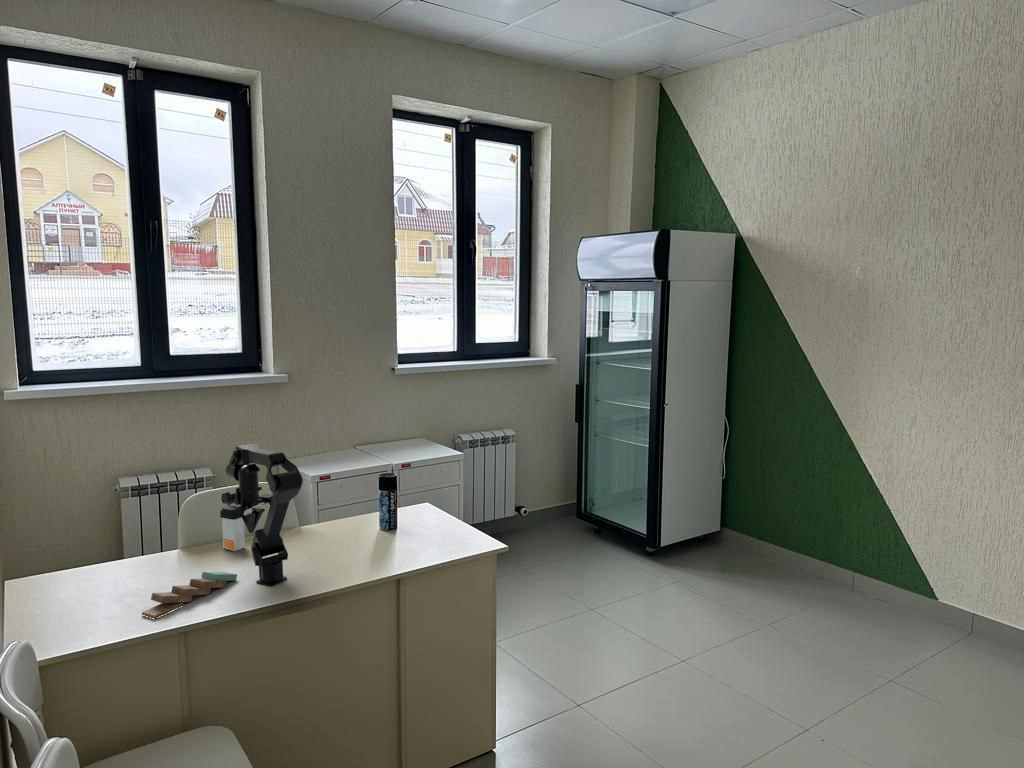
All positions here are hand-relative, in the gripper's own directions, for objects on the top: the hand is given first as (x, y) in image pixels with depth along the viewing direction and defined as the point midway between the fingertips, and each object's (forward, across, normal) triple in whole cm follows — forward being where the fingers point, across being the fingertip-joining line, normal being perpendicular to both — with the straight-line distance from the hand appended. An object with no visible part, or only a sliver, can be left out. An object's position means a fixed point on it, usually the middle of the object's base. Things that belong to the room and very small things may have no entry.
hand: (251, 532), depth 220 cm
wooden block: (+11, +13, 0) cm, 17 cm away
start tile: (+11, +8, -1) cm, 14 cm away
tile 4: (+11, +25, 0) cm, 27 cm away
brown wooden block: (+12, +28, 0) cm, 30 cm away
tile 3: (+11, +19, 0) cm, 22 cm away
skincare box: (+12, -12, -20) cm, 26 cm away
